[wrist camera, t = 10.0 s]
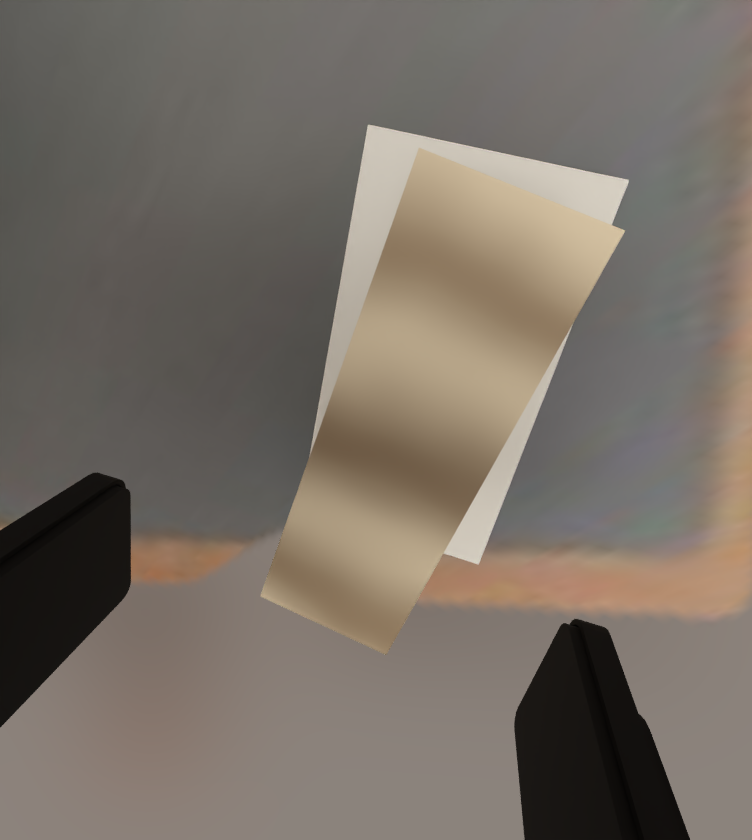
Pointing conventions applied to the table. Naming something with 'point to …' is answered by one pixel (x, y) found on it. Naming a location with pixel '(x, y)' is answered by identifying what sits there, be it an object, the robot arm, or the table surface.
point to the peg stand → (369, 229)
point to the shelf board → (430, 390)
